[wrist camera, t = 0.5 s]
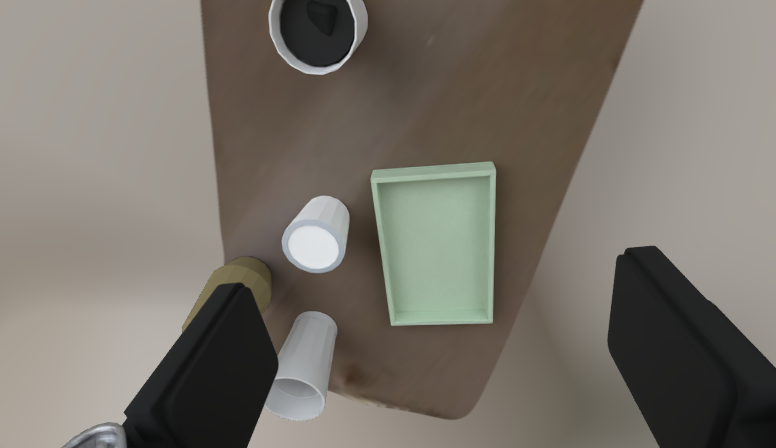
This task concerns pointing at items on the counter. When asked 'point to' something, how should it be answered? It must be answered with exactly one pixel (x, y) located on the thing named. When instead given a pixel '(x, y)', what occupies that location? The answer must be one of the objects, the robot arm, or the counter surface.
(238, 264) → the squeeze bottle
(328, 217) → the white tapered cup
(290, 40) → the white tumbler
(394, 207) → the tray
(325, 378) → the cup
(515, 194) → the counter surface
